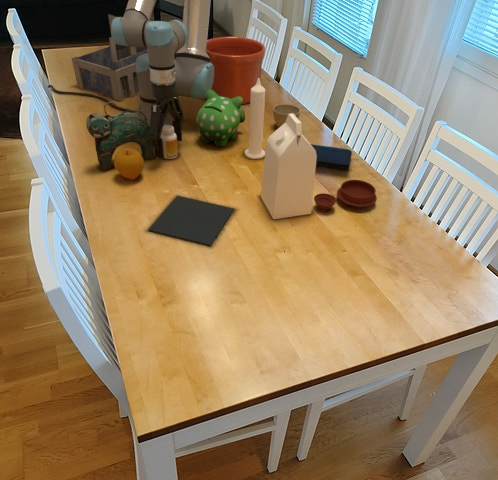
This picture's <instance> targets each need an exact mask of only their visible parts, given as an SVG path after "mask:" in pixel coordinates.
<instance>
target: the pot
mask: <svg viewBox="0 0 498 480" xmlns="http://www.w3.org/2000/svg"><path fill="white" fill-rule="evenodd" d="M206 53H207V54H208V56H209V57H210V63H211V64H213V66H214V80H213V84H212V88H211V90H213V91H214V92H215V93H216V94H217V95H218V96H221V97H226V98H229V99H231V98H235V97H242V99H243V102H242V105H245V104H246V105H247V104H249V103H250V100H251V88H252V87H254V86H255V85H256V84H257V80H258V78H260V79H261V78H262V65H263V60H264V58H265V55H266V46H265V45H264V44H263V43H262V42H260V41H259V40H255V39H253V38H249V37H242V36H221V37H220V36H219V37H213V38H210V39H207V47H206Z"/></svg>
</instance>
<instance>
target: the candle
mask: <svg viewBox="0 0 498 480" xmlns="http://www.w3.org/2000/svg"><path fill="white" fill-rule="evenodd" d="M265 103H266V88H265V87H264V86H263V85H262V84H261V78H258V80H257V84H256V85H255V86H254V87H252V88H251V100H250V104H249V129H248V148H246V149H245V150H244V155H245V157H246V158H248V159H251V160H261V159H263V158H265V152H266V150H264V149H263V137H264V123H265V121H264V120H265Z"/></svg>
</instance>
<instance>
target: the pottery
mask: <svg viewBox="0 0 498 480" xmlns="http://www.w3.org/2000/svg"><path fill="white" fill-rule="evenodd" d="M376 191H377V190H376V187H375V186H374V185H373V184H371V183H370V182H367V181H365V180H361V179H349V180H345V181H343V182H342V183H341V184H340V187H339V188H338V189H337V190H336V197H337V198H338V199H339V201H341V202H342V203H344V204H346V205H348V206H351V207H354V208H363V207H364V208H366V207H370V206H372V205H374V204H375V203H376V202H377V199H378V197H377V194H376ZM336 197H335V196H334V195H332V194H329V193H325V192H324V193H318V194H315V196H313V201H314V203H315V204H316V206H317V207H318V210H319V211H321V212H327V211H329V209H330V208H332V207H333V206H334V205H335V204H336V203H337V198H336Z"/></svg>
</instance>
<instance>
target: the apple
mask: <svg viewBox="0 0 498 480" xmlns="http://www.w3.org/2000/svg"><path fill="white" fill-rule="evenodd" d="M113 166H114V168H115V170H116V171H117V172H118V173H119V174H120V175H121V176H122V177H123V178H125V179H127V180H131V181H132V180H135V179H137V178H138V177H139V176H140V174H141V173H142V171H143V169H144V167H145V161H144V157H143V156H142V153H140V152H139V151H138V150H137V149H134V148H123V149H121V150H119V151H118V152H116V154H115V155H114V158H113Z"/></svg>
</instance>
